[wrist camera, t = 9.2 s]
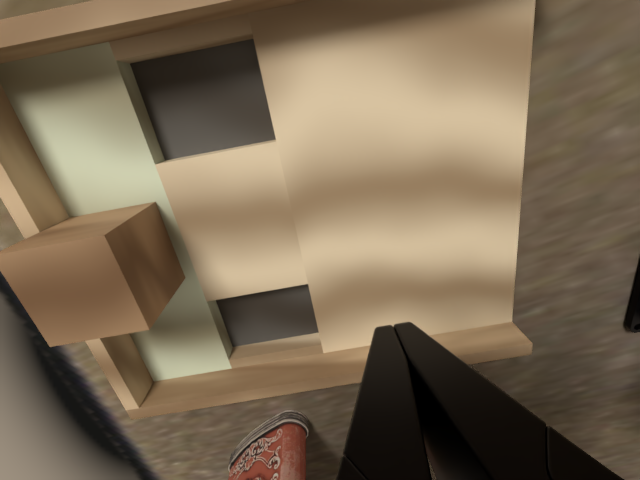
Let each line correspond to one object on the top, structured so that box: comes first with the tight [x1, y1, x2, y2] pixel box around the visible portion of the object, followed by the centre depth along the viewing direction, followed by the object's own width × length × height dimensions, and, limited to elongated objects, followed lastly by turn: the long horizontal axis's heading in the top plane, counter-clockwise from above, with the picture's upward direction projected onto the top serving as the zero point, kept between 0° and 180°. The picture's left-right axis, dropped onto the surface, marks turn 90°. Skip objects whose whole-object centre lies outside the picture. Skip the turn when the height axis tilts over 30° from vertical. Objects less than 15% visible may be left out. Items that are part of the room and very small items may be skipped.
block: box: [0, 202, 185, 347], centre depth 15 cm, size 4×4×4 cm
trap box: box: [0, 0, 536, 420], centre depth 17 cm, size 20×24×4 cm
